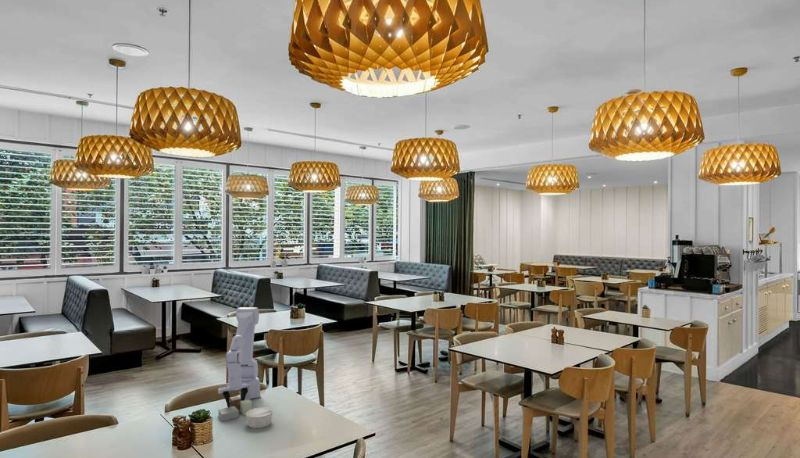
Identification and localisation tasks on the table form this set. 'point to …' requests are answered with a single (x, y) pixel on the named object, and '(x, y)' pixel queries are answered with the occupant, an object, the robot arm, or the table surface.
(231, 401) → the walnut block
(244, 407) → the sage block
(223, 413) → the plinth block
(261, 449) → the table surface
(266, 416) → the ramekin
